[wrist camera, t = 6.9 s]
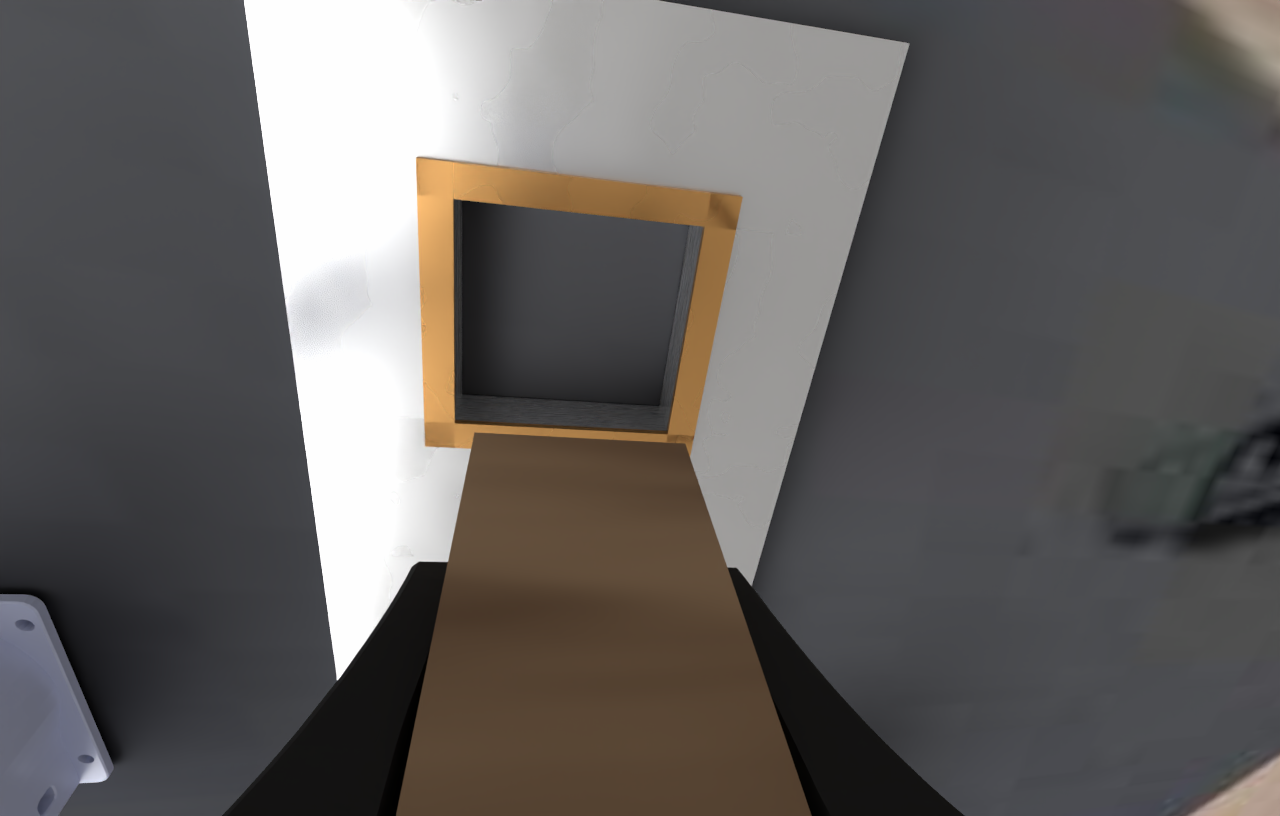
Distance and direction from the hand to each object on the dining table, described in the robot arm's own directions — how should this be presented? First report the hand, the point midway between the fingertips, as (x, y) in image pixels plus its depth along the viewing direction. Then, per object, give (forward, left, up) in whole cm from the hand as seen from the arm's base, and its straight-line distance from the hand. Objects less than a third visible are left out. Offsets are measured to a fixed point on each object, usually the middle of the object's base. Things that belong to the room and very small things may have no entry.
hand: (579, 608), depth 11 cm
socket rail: (-4, 0, -9) cm, 10 cm away
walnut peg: (0, 0, -2) cm, 3 cm away
